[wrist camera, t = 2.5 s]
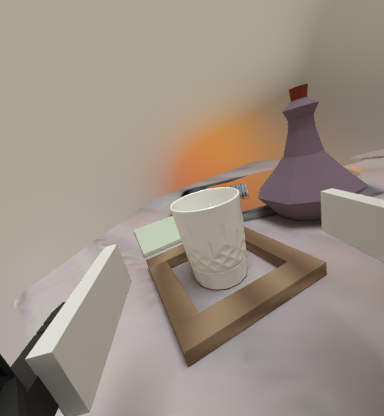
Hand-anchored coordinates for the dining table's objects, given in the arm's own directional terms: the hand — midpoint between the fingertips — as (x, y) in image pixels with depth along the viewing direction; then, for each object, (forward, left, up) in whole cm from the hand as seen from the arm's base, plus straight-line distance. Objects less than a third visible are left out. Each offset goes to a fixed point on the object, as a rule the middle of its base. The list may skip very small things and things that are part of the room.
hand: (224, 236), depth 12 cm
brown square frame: (-3, -9, -10) cm, 14 cm away
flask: (-24, -13, -10) cm, 29 cm away
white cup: (-3, -9, -10) cm, 14 cm away
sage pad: (-3, -28, -10) cm, 30 cm away
